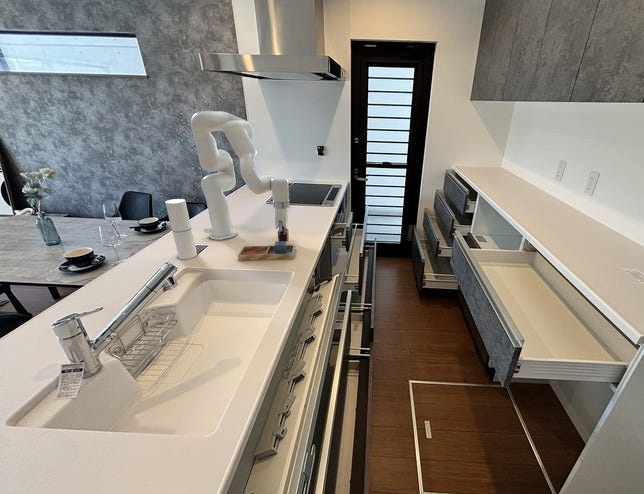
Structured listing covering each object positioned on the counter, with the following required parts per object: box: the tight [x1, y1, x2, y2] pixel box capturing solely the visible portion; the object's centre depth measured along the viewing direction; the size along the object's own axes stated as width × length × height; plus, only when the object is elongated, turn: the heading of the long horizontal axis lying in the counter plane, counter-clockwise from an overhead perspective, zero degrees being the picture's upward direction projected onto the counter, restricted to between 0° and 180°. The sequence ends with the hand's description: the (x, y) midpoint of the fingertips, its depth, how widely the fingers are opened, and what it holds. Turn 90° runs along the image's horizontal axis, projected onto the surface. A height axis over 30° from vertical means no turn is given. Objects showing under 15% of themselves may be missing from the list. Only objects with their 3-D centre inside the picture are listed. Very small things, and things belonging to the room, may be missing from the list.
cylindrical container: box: [164, 198, 198, 260], centre depth 130 cm, size 7×7×25 cm
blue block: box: [273, 240, 287, 254], centre depth 137 cm, size 4×4×5 cm
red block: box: [277, 228, 290, 243], centre depth 149 cm, size 4×4×5 cm
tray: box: [237, 244, 296, 262], centre depth 137 cm, size 23×10×2 cm, turn 98°
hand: (283, 239), depth 150 cm, fingers closed on red block, 4 cm apart
